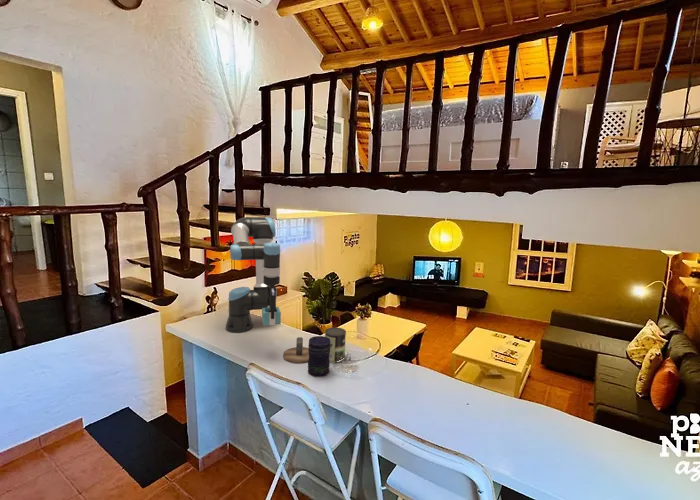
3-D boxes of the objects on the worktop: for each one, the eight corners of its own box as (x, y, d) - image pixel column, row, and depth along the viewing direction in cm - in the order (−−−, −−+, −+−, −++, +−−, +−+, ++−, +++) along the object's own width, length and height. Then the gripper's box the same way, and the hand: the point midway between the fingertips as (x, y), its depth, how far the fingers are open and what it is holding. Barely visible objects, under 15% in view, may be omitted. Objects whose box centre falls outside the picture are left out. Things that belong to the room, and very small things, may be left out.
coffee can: (345, 354, 180) (346, 327, 177) (344, 363, 169) (345, 336, 167) (324, 352, 180) (325, 326, 177) (322, 362, 170) (323, 334, 167)
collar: (261, 319, 174) (261, 307, 173) (278, 318, 176) (278, 306, 175) (263, 325, 166) (263, 313, 165) (280, 324, 169) (280, 312, 168)
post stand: (280, 350, 180) (280, 333, 178) (311, 346, 186) (311, 330, 184) (286, 365, 165) (286, 347, 164) (319, 361, 171) (319, 343, 169)
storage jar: (333, 371, 161) (335, 341, 159) (317, 379, 154) (318, 347, 152) (319, 363, 168) (320, 334, 166) (303, 370, 161) (303, 339, 158)
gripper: (261, 271, 176) (261, 314, 180) (265, 281, 157) (265, 330, 160) (276, 270, 179) (276, 313, 182) (282, 280, 159) (282, 328, 163)
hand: (271, 321), depth 171 cm, fingers closed on collar, 8 cm apart
